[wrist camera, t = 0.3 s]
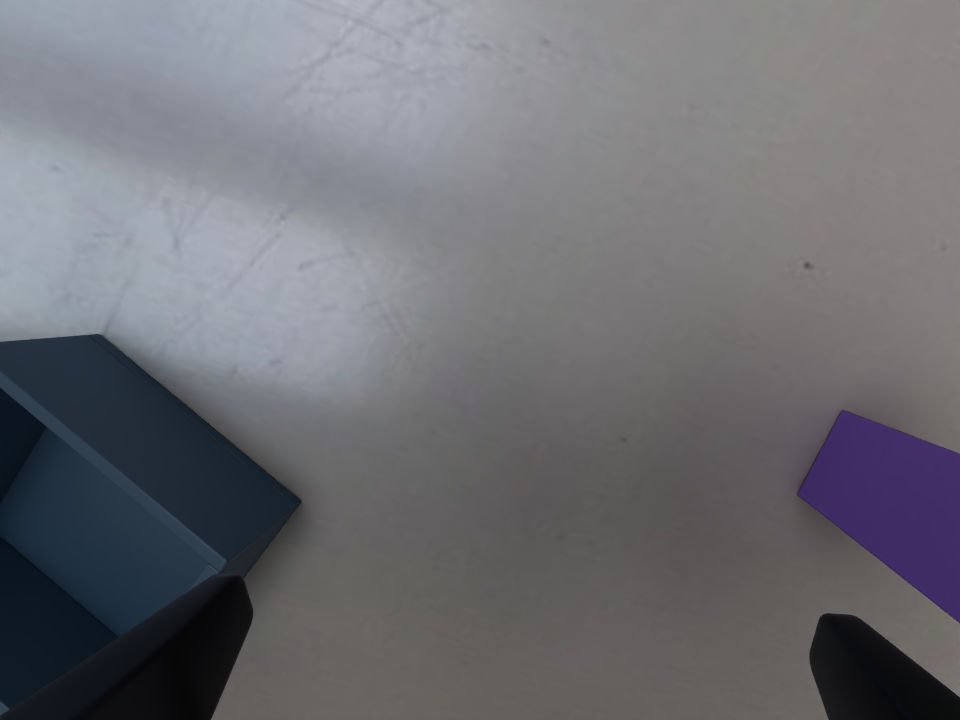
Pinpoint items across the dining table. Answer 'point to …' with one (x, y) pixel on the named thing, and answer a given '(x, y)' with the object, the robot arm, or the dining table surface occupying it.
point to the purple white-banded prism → (893, 502)
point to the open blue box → (109, 505)
